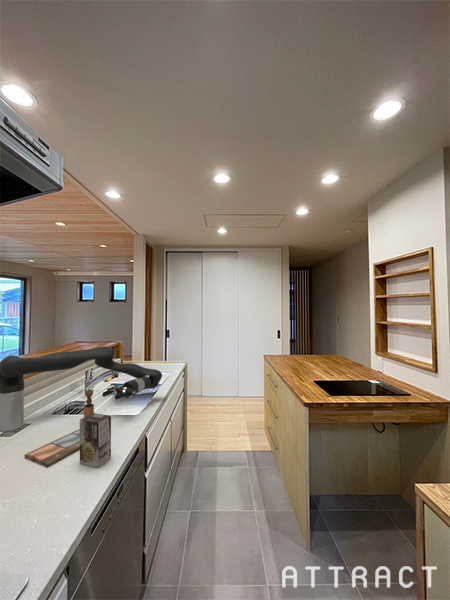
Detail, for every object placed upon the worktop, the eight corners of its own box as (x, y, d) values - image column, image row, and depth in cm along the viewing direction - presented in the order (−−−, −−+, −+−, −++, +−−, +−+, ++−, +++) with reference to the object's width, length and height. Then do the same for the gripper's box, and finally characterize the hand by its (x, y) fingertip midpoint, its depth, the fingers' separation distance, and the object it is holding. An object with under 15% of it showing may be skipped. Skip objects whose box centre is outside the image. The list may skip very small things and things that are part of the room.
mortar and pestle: (89, 434, 114) (90, 392, 114) (76, 433, 115) (77, 391, 116) (99, 427, 121) (100, 388, 121) (87, 426, 122) (87, 387, 122)
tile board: (24, 457, 100) (24, 453, 100) (88, 427, 124) (88, 424, 124) (47, 467, 94) (47, 462, 94) (109, 433, 118) (109, 430, 118)
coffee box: (111, 458, 99) (112, 415, 100) (98, 468, 93) (98, 422, 93) (92, 454, 102) (93, 412, 102) (78, 463, 96) (78, 419, 96)
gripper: (124, 378, 146) (99, 386, 131) (144, 381, 140) (120, 390, 125) (124, 391, 146) (98, 401, 131) (144, 395, 140) (119, 406, 125)
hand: (109, 396), depth 128 cm, fingers open, 8 cm apart
